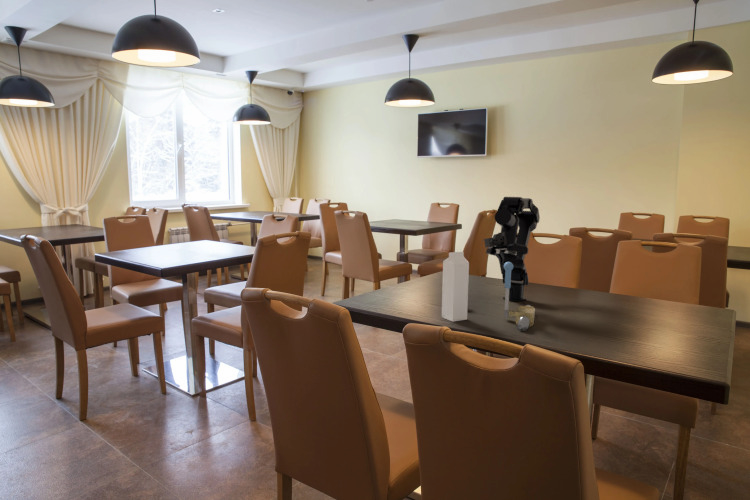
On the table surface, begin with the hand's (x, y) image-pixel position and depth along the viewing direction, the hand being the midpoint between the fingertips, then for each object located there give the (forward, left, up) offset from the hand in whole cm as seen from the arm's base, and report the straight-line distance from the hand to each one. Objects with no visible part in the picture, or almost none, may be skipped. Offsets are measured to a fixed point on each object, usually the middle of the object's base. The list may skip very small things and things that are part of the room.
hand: (503, 274), depth 177 cm
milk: (+24, +1, -13) cm, 27 cm away
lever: (+11, +12, -11) cm, 19 cm away
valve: (+8, +15, -12) cm, 22 cm away
